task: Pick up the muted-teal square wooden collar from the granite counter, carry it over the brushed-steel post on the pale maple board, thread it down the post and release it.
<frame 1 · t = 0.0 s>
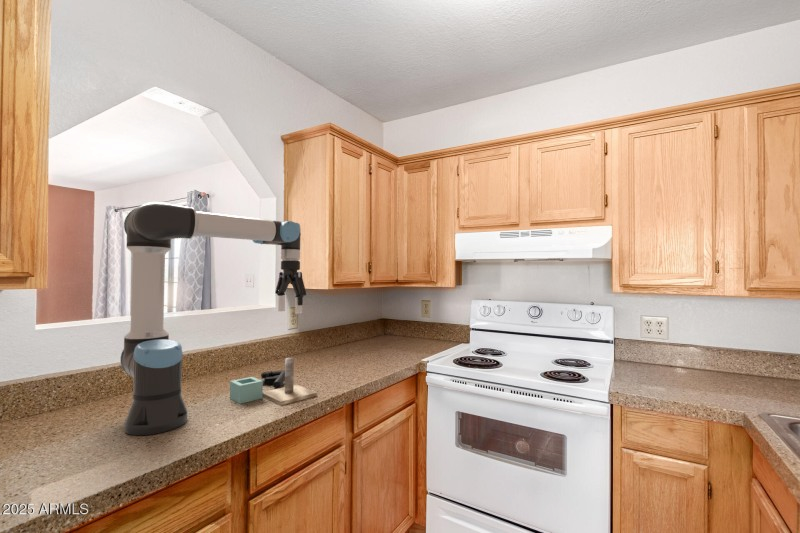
hand: (289, 312, 153), 28 cm above the countertop, fingers open, 13 cm apart
collar: (246, 398, 131), on the countertop
peg stand: (289, 395, 134), on the countertop
black toy gun: (267, 383, 151), on the countertop
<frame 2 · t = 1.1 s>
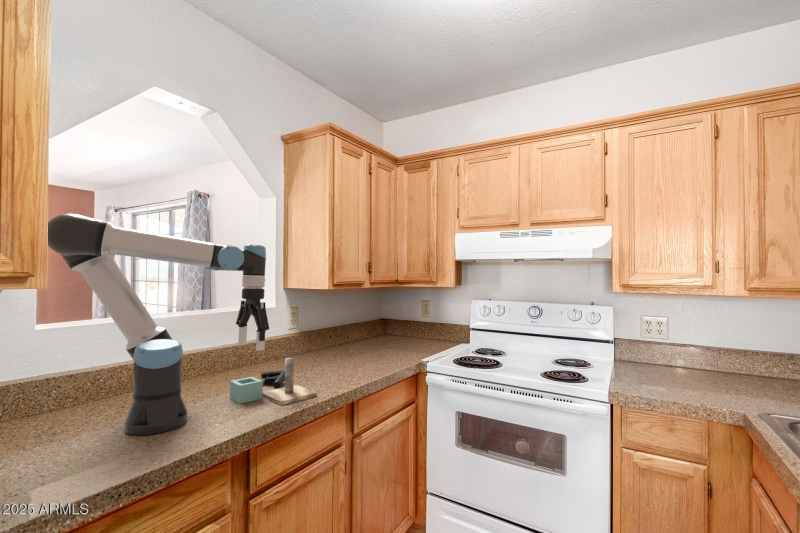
hand: (250, 347, 134), 17 cm above the countertop, fingers open, 13 cm apart
nothing on the countertop moved.
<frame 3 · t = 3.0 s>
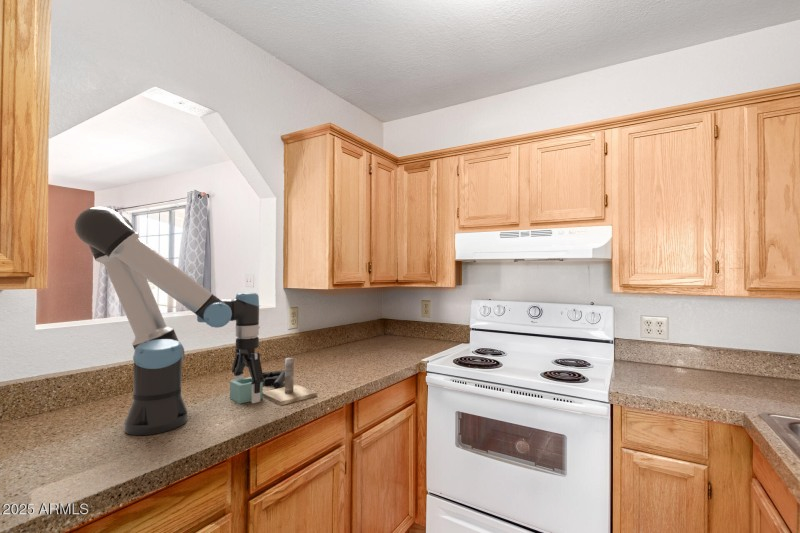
hand: (247, 397, 131), 0 cm above the countertop, fingers open, 13 cm apart
nothing on the countertop moved.
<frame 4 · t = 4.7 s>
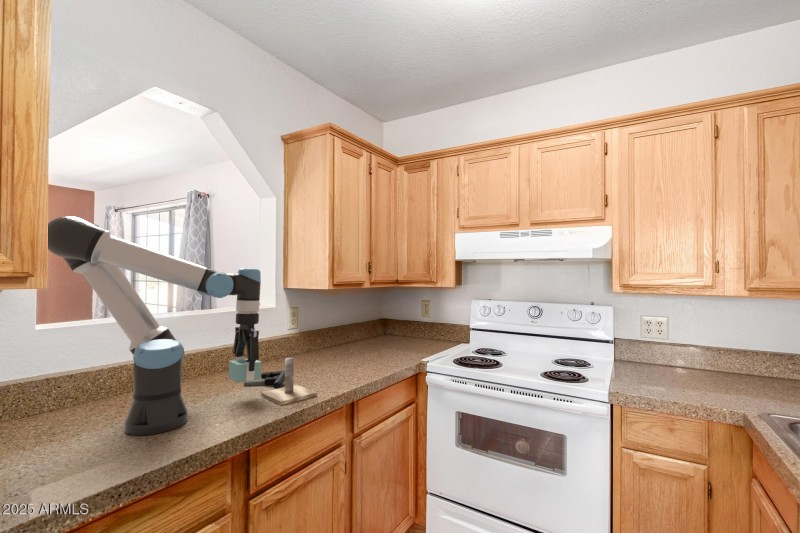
hand: (244, 377, 131), 7 cm above the countertop, fingers closed on collar, 8 cm apart
collar: (244, 378, 131), point 7 cm above the countertop, touching gripper
everything else where it was.
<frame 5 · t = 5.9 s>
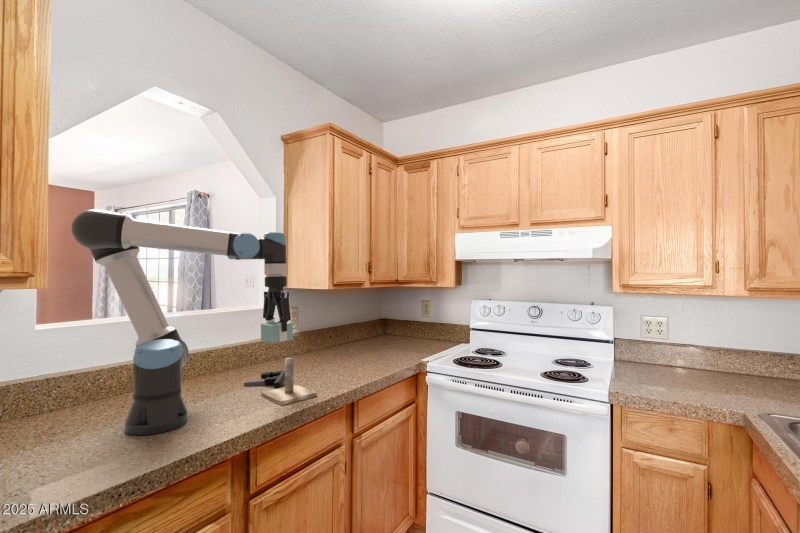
hand: (276, 339, 134), 20 cm above the countertop, fingers closed on collar, 8 cm apart
collar: (277, 340, 134), point 20 cm above the countertop, touching gripper
everything else where it was.
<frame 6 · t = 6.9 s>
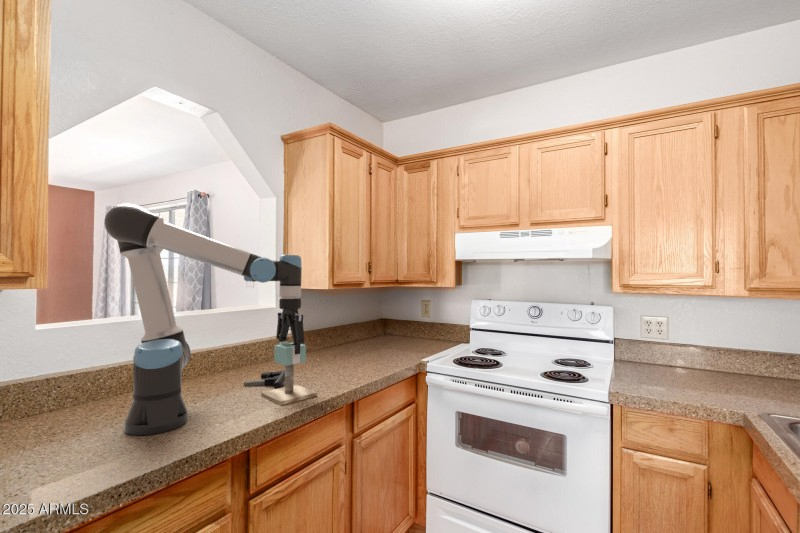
hand: (289, 361, 134), 12 cm above the countertop, fingers closed on collar, 8 cm apart
collar: (290, 361, 135), point 12 cm above the countertop, touching gripper
everything else where it was.
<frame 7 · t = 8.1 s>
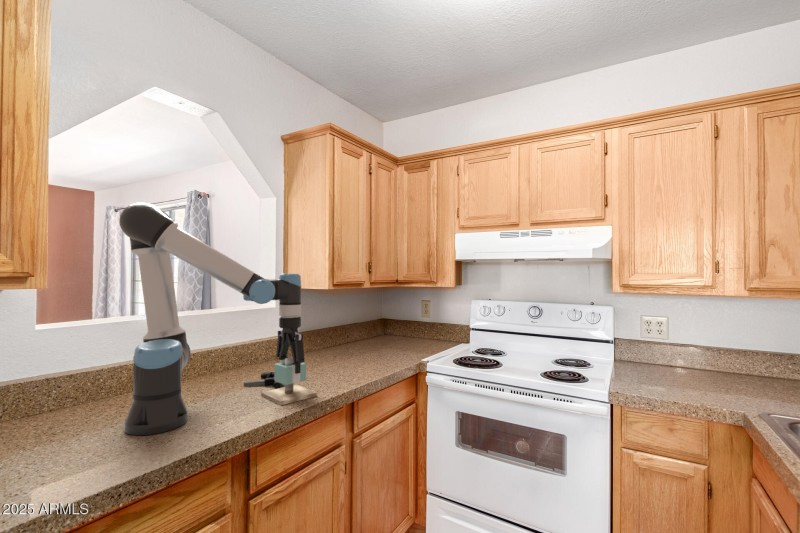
hand: (289, 379, 134), 6 cm above the countertop, fingers closed on collar, 8 cm apart
collar: (290, 380, 134), point 5 cm above the countertop, touching gripper
when the fingers open (3 cm above the countertop, at t = 9.1 s): collar drops 1 cm, resting on peg stand.
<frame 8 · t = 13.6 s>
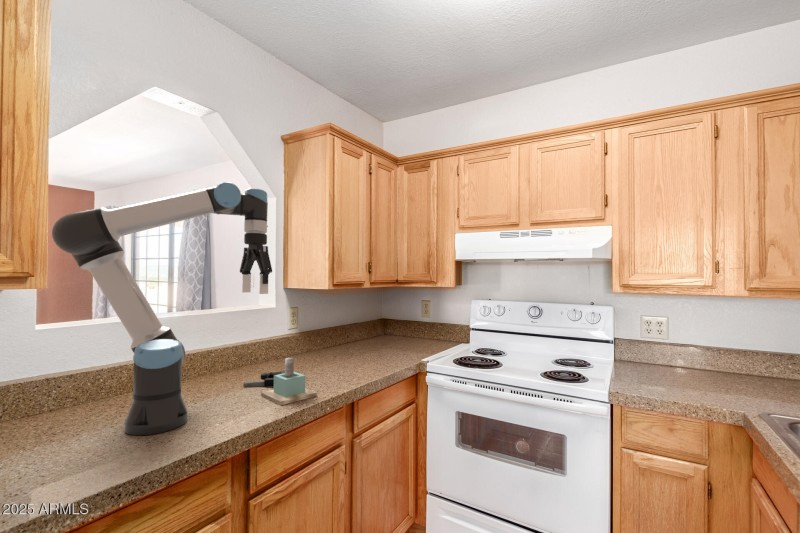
hand: (254, 293, 133), 37 cm above the countertop, fingers open, 13 cm apart
collar: (289, 392, 134), point 1 cm above the countertop, touching peg stand
at the end: collar 0.2 cm off-centre on the peg stand, point 1.2 cm above the peg stand's base; collar tilted 0°; the gripper is holding nothing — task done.
